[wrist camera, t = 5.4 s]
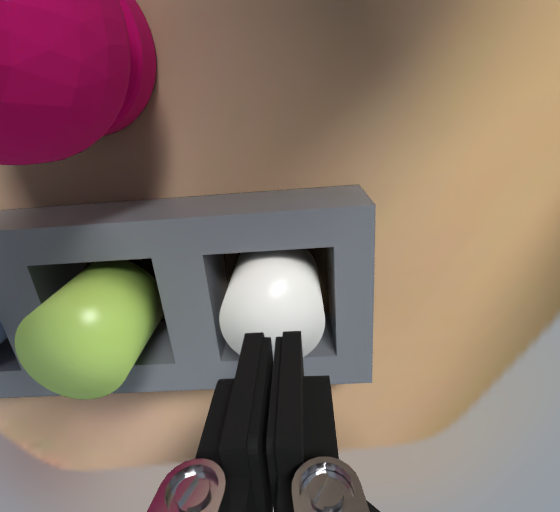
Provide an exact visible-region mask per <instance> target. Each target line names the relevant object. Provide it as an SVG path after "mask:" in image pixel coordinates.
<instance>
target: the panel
mask: <svg viewBox="0 0 560 512" xmlns="http://www.w3.org/2000/svg"><path fill="white" fill-rule="evenodd" d="M324 247H327V259H328V290H329V313H324V314H325V328H324V332H323V335H322V338H321V340H320V341H319V343H318V344H317V346H316V347H315V348H314V349H313V350H312V351H311V352H310V353H309V354H308V355H306V356H305V357H303V367H304V376H326V375H329V377H330V384H351V383H372V354H373V304H374V254H375V204H374V203H373V201H372V200H371V199H370V198H369V196H368V195H367V194H366V193H365V191H364V190H363V189H362V187H361V186H360V185H346V186H332V187H318V188H304V189H290V190H276V191H262V192H248V193H234V194H220V195H206V196H192V197H178V198H164V199H150V200H136V201H122V202H108V203H94V204H80V205H66V206H52V207H38V208H24V209H10V210H0V321H1V323H2V325H3V328H4V330H5V332H6V335H7V337H8V338H7V339H5V340H4V341H3V342H2V343H1V344H0V398H11V397H35V396H59V394H57V393H54V392H52V391H50V390H48V389H46V388H45V387H43V386H42V385H40V384H39V383H38V382H36V381H35V380H34V379H33V378H32V377H31V376H30V375H29V374H28V373H27V372H26V370H25V369H24V368H23V366H22V365H21V363H20V361H19V359H18V356H17V354H16V350H15V334H16V331H17V328H18V326H19V324H20V323H21V322H22V320H23V319H24V318H25V317H26V316H28V315H29V314H30V313H31V312H32V311H34V310H35V309H36V308H37V307H39V306H40V305H41V304H42V303H43V302H45V301H46V300H47V299H48V298H50V297H51V296H52V295H53V294H54V293H56V292H57V291H58V290H59V289H61V288H62V287H63V286H64V285H66V284H67V283H68V282H69V281H70V280H72V279H73V278H74V277H75V276H77V275H78V274H79V273H80V272H81V271H83V270H84V269H85V268H84V264H83V262H98V261H115V260H131V259H147V258H151V259H152V263H153V268H154V272H155V276H156V281H157V285H158V290H159V294H160V298H161V303H162V307H163V311H164V316H165V320H166V321H164V322H159V324H158V325H157V327H156V329H155V330H154V332H153V334H152V335H151V337H150V339H149V340H148V342H147V344H146V345H145V347H144V349H143V350H142V352H141V354H140V355H139V357H138V359H137V360H136V362H135V364H134V366H133V367H132V369H131V371H130V372H129V374H128V376H127V377H126V379H125V381H124V382H123V383H122V385H121V386H120V387H119V388H118V389H117V390H115V391H114V392H112V393H132V392H157V391H181V390H205V389H215V388H216V384H217V382H218V380H219V379H231V378H235V374H236V370H237V366H238V361H239V357H240V355H239V354H238V353H236V352H235V351H234V350H233V349H232V348H231V347H230V346H229V344H228V343H227V342H226V340H225V338H224V337H223V334H222V332H221V328H220V322H219V315H220V309H221V306H222V303H223V300H224V297H225V294H226V291H227V288H228V284H227V277H226V270H225V263H224V257H223V254H227V253H243V252H259V251H275V250H291V249H307V248H324Z"/></svg>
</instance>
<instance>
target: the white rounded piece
mask: <svg viewBox="0 0 560 512" xmlns="http://www.w3.org/2000/svg"><path fill="white" fill-rule="evenodd" d="M219 322H220V328H221V332H222V334H223V337H224V338H225V340H226V342H227V343H228V344H229V346H230V347H231V348H232V349H233V350H234V351H235V352H236V353H238V354H239V355H240V352H241V348H242V343H243V339H244V335H245V333H260V332H263V333H264V337H271V342H272V352H273V361H274V351H275V340H276V337H282V335H283V332H284V331H301V337H302V352H303V357H305V356H306V355H308V354H309V353H310V352H311V351H312V350H313V349H314V348H315V347H316V346H317V344H318V343H319V341H320V340H321V338H322V335H323V332H324V328H325V314H324V308H323V301H322V294H321V288H320V281H319V275H318V268H317V265H316V262H315V260H314V258H313V256H312V255H311V253H310V252H309V251H308V250H307V249H291V250H275V251H259V252H243V253H241V254H240V256H239V258H238V260H237V262H236V265H235V268H234V271H233V274H232V277H231V280H230V282H229V285H228V288H227V291H226V294H225V297H224V300H223V303H222V306H221V309H220V315H219Z"/></svg>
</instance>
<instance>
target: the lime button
mask: <svg viewBox="0 0 560 512" xmlns="http://www.w3.org/2000/svg"><path fill="white" fill-rule="evenodd" d="M163 313H164V311H163V307H162V303H161V298H160V294H159V290H158V285H157V281H156V280H155V279H154V278H153V277H152V276H151V275H150V274H149V273H148V272H147V271H146V270H145V269H143V268H142V267H140V266H138V265H136V264H134V263H132V262H129V261H125V260H115V261H98V262H94V263H92V264H91V265H89V266H88V267H86V268H85V269H84V270H83V271H81V272H80V273H79V274H78V275H77V276H75V277H74V278H73V279H72V280H70V281H69V282H68V283H67V284H66V285H64V286H63V287H62V288H61V289H59V290H58V291H57V292H56V293H54V294H53V295H52V296H51V297H50V298H48V299H47V300H46V301H45V302H43V303H42V304H41V305H40V306H39V307H37V308H36V309H35V310H34V311H32V312H31V313H30V314H29V315H28V316H26V317H25V318H24V319H23V320H22V322H21V323H20V324H19V326H18V328H17V331H16V334H15V350H16V354H17V356H18V359H19V361H20V363H21V365H22V366H23V368H24V369H25V370H26V372H27V373H28V374H29V375H30V376H31V377H32V378H33V379H34V380H35V381H36V382H38V383H39V384H40V385H42V386H43V387H45V388H46V389H48V390H50V391H52V392H54V393H57V394H59V395H62V396H65V397H70V398H75V399H95V398H100V397H103V396H106V395H108V394H110V393H112V392H114V391H115V390H117V389H118V388H119V387H120V386H121V385H122V383H123V382H124V381H125V379H126V377H127V376H128V374H129V372H130V371H131V369H132V367H133V366H134V364H135V362H136V360H137V359H138V357H139V355H140V354H141V352H142V350H143V349H144V347H145V345H146V344H147V342H148V340H149V339H150V337H151V335H152V334H153V332H154V330H155V329H156V327H157V325H158V324H159V322H160V320H161V318H162V316H163Z"/></svg>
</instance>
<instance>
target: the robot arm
mask: <svg viewBox="0 0 560 512" xmlns="http://www.w3.org/2000/svg"><path fill="white" fill-rule="evenodd" d="M273 508H274V512H380V511H379V510H378V509H376V508H375V507H374V506H373V505H372V504H370V503H369V502H368V501H367V500H366V498H365V495H364V492H363V489H362V486H361V483H360V481H359V478H358V476H357V474H356V472H355V471H354V470H353V469H352V468H351V467H350V466H349V465H348V464H346V463H344V462H343V461H341V460H340V459H339V457H338V448H337V439H336V430H335V421H334V412H333V403H332V394H331V385H330V377H329V375H326V376H304V367H303V352H302V337H301V331H284V332H283V335H282V337H276V340H275V351H274V361H273V352H272V342H271V337H264V333H263V332H260V333H245V335H244V339H243V343H242V348H241V352H240V357H239V361H238V366H237V370H236V374H235V378H231V379H219V380H218V382H217V384H216V388H215V391H214V395H213V398H212V402H211V405H210V409H209V412H208V416H207V419H206V423H205V426H204V430H203V433H202V437H201V440H200V444H199V447H198V451H197V454H196V458H195V459H192V460H189V461H185V462H183V463H182V464H180V465H178V466H176V467H175V468H174V469H173V470H172V471H171V472H170V473H169V474H167V476H166V477H165V479H164V480H163V482H162V483H161V485H160V487H159V489H158V491H157V493H156V495H155V497H154V499H153V501H152V503H151V505H150V507H149V509H148V511H147V512H273Z"/></svg>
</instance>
